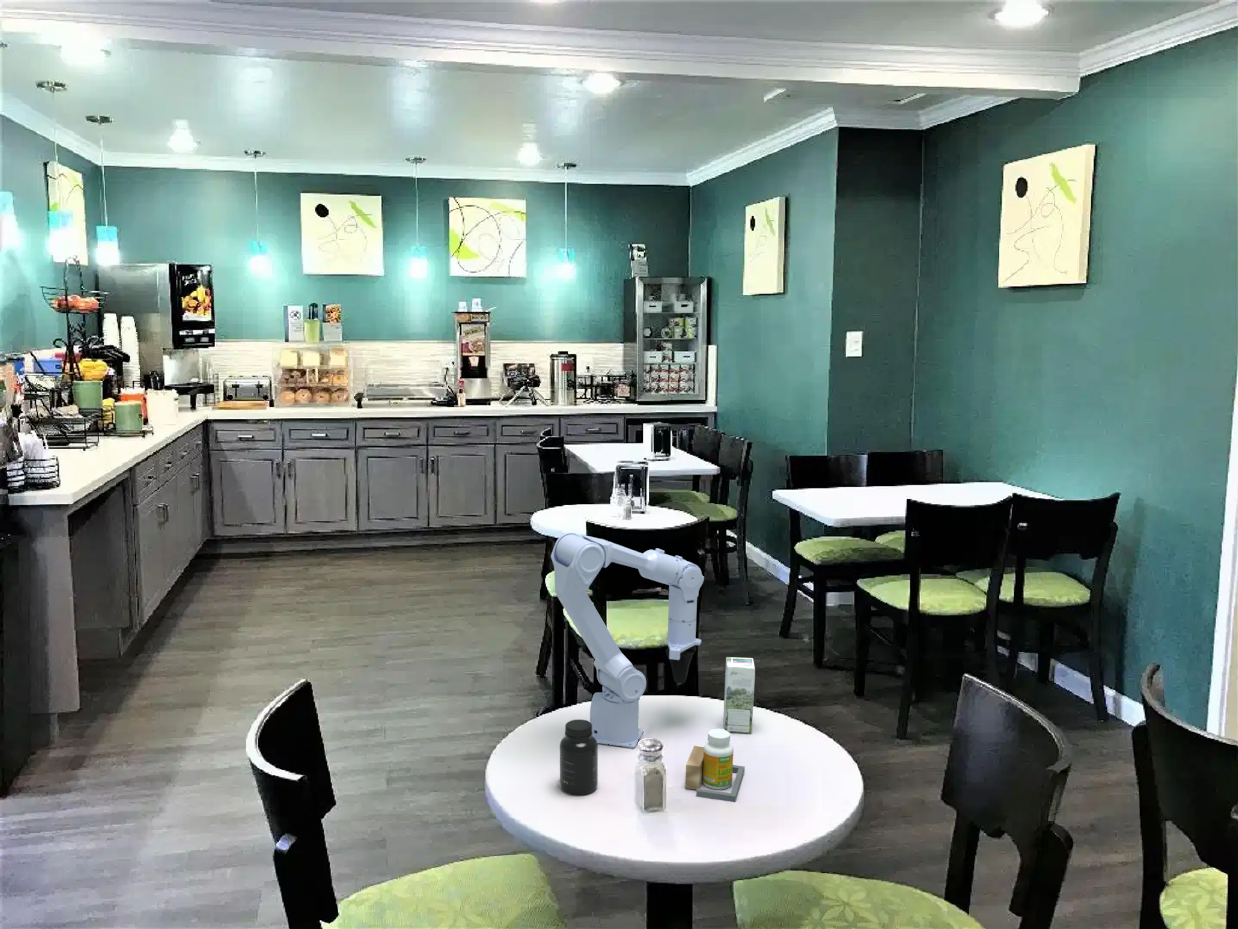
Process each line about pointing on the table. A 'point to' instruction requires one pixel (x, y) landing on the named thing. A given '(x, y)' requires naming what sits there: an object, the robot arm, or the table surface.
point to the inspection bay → (725, 795)
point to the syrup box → (739, 695)
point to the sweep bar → (694, 768)
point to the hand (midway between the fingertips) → (680, 681)
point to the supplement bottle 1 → (578, 759)
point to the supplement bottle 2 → (718, 760)
